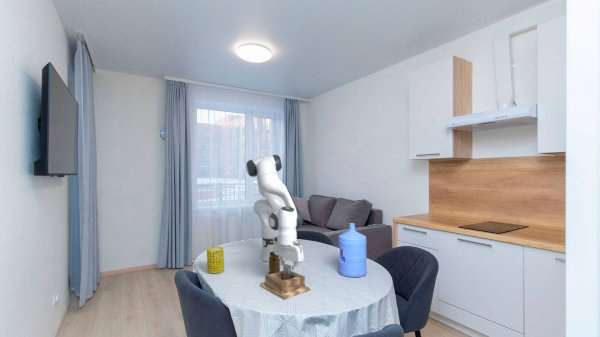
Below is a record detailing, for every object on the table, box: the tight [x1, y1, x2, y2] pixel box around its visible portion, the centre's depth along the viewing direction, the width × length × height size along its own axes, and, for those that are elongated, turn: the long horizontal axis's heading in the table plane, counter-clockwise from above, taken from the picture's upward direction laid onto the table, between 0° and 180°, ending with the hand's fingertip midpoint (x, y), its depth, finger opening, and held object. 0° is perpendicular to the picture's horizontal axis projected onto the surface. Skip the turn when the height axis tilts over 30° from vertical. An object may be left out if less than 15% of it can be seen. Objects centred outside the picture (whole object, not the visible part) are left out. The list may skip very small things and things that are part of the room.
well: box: [259, 270, 311, 301], centre depth 144 cm, size 16×20×6 cm
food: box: [206, 245, 225, 275], centre depth 168 cm, size 15×12×10 cm
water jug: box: [338, 222, 368, 278], centre depth 165 cm, size 16×16×28 cm
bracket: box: [282, 263, 292, 281], centre depth 144 cm, size 5×4×10 cm
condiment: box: [266, 251, 281, 275], centre depth 164 cm, size 7×8×12 cm
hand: (288, 267), depth 145 cm, fingers open, 8 cm apart
